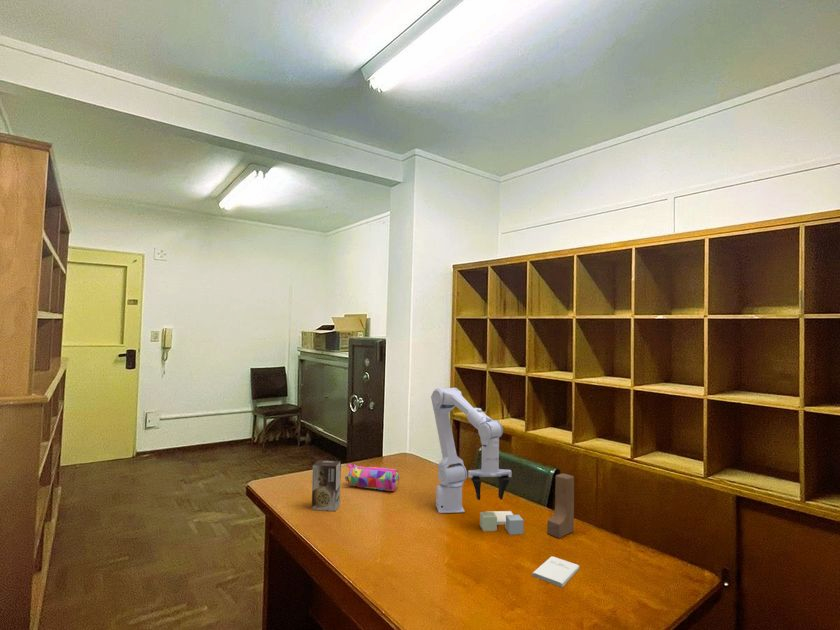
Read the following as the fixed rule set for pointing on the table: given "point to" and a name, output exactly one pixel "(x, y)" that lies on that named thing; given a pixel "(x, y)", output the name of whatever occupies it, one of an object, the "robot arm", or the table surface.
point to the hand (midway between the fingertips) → (489, 498)
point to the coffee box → (326, 485)
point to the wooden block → (562, 507)
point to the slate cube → (514, 524)
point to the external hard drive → (556, 571)
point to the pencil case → (373, 477)
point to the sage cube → (488, 521)
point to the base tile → (501, 516)
